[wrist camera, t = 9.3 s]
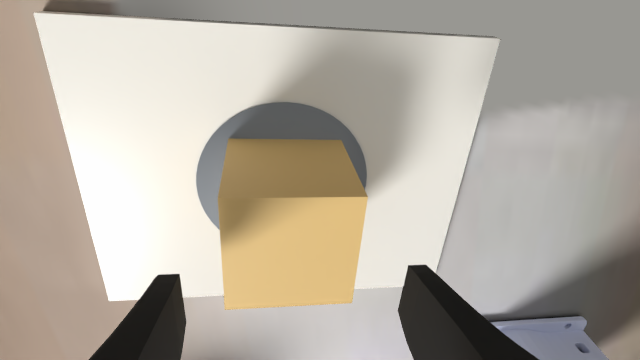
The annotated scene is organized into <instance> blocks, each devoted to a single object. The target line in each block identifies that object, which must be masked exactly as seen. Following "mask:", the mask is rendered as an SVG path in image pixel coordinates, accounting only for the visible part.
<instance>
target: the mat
mask: <svg viewBox="0 0 640 360" xmlns="http://www.w3.org/2000/svg"><path fill="white" fill-rule="evenodd" d="M34 17H35V21H36V24H37V28H38V32H39V36H40V40H41V43H42V47H43V51H44V55H45V59H46V63H47V66H48V70H49V74H50V78H51V82H52V85H53V89H54V93H55V97H56V101H57V104H58V108H59V112H60V116H61V120H62V124H63V127H64V131H65V135H66V139H67V143H68V146H69V150H70V154H71V158H72V162H73V165H74V169H75V173H76V177H77V181H78V185H79V188H80V192H81V196H82V200H83V204H84V207H85V211H86V215H87V219H88V223H89V226H90V230H91V234H92V238H93V242H94V246H95V249H96V253H97V257H98V261H99V265H100V268H101V272H102V276H103V280H104V284H105V287H106V291H107V295H108V299H109V301H121V300H139V299H140V298H141V296H142V295H143V294H144V292H145V291H146V290H147V288H148V287H149V285H150V284H151V283H152V281H153V280H154V278H155V277H156V276H157V275H162V274H180V280H181V288H182V295H183V297H203V296H223V295H224V290H223V274H222V259H221V243H220V228H219V212H218V193H219V188H220V182H221V177H222V171H223V166H224V160H225V155H226V149H227V143H228V139H305V140H341V141H342V143H343V145H344V147H345V149H346V151H347V153H348V156H349V158H350V160H351V162H352V164H353V166H354V168H355V170H356V173H357V175H358V177H359V179H360V181H361V183H362V185H363V187H364V190H365V192H366V194H367V196H368V200H367V207H366V213H365V220H364V226H363V233H362V240H361V246H360V253H359V259H358V266H357V273H356V279H355V286H354V289H366V288H386V287H403V286H404V282H405V277H406V273H407V269H408V265H427V266H428V267H429V268H430V269H431V270H433V271H434V272H435V273H436V270H437V266H438V263H439V259H440V255H441V252H442V248H443V245H444V241H445V237H446V234H447V230H448V227H449V223H450V220H451V216H452V212H453V209H454V205H455V202H456V198H457V194H458V191H459V187H460V184H461V180H462V176H463V173H464V169H465V166H466V162H467V158H468V155H469V151H470V148H471V144H472V140H473V137H474V133H475V130H476V126H477V122H478V119H479V115H480V112H481V108H482V104H483V101H484V97H485V93H486V90H487V86H488V83H489V79H490V76H491V72H492V68H493V65H494V61H495V58H496V54H497V50H498V47H499V43H500V40H501V39H500V38H497V37H493V36H475V35H457V34H440V33H421V32H404V31H387V30H386V31H385V30H368V29H350V28H333V27H316V26H298V25H280V24H263V23H244V22H227V21H210V20H192V19H174V18H156V17H138V16H137V17H136V16H121V15H103V14H86V13H68V12H50V11H39V12H35V13H34Z"/></svg>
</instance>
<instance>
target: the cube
mask: <svg viewBox="0 0 640 360" xmlns="http://www.w3.org/2000/svg"><path fill="white" fill-rule="evenodd" d="M367 200H368V196H367V194H366V192H365V190H364V187H363V185H362V183H361V181H360V179H359V177H358V175H357V173H356V170H355V168H354V166H353V164H352V162H351V160H350V158H349V156H348V153H347V151H346V149H345V147H344V145H343V143H342V141H341V140H305V139H228V143H227V149H226V155H225V160H224V166H223V171H222V177H221V182H220V188H219V193H218V212H219V228H220V243H221V259H222V274H223V290H224V305H225V310H230V309H249V308H267V307H286V306H305V305H323V304H342V303H352V299H353V292H354V286H355V279H356V273H357V266H358V259H359V253H360V246H361V240H362V233H363V226H364V220H365V213H366V207H367Z"/></svg>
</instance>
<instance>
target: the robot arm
mask: <svg viewBox="0 0 640 360" xmlns="http://www.w3.org/2000/svg"><path fill="white" fill-rule="evenodd" d="M398 312H399V316H400V320H401V324H402V328H403V331H404V334H405V338H406V341H407V344H408V346H409V349H410V351H411V354H412V356H413V359H414V360H609V359H608V358H607V357H606V356H605V355H604V353H603V352H602V351H601V350H600V349H599V348H598V347H597V346H596V344H595V343H594V342H593V341H592V340H591V339H590V338H589V337H588V335H587V334H586V333H585V332H584V331H583V330H584V328H585V327H586V325H587V321H586V320H585V319H584V317H581V316H576V317H561V318H546V319H531V320H515V321H500V322H489V321H488V320H487V319H485V318H484V317H483V316H482V315H481V314H480V313H478V312H477V311H476V310H475V309H474V308H473V307H472V306H470V305H469V304H468V303H467V302H466V301H465V300H464V299H463V298H462V297H460V296H459V295H458V294H457V293H456V292H455V291H454V290H453V289H452V288H451V287H450V286H449V285H447V284H446V283H445V282H444V281H443V280H442V279H441V278H440V277H439V276H438V275H437V274H436V273H435V272H434V271H433V270H431V269H430V268H429V267H428V266H427V265H408V269H407V273H406V277H405V282H404V286H403V290H402V295H401V299H400V304H399V308H398ZM185 327H186V317H185V310H184V303H183V295H182V288H181V280H180V274H162V275H157V276H156V277H155V278H154V280H153V281H152V283H151V284H150V285H149V287H148V288H147V290H146V291H145V292H144V294H143V295H142V296H141V298H140V299H139V300H138V302H137V303H136V304H135V306H134V307H133V308H132V309H131V311H130V312H129V313H128V314H127V316H126V317H125V318H124V319H123V321H122V322H121V323H120V324H119V326H118V327H117V328H116V329H115V330H114V332H113V333H112V334H111V335H110V336H109V338H108V339H107V340H106V341H105V342H104V343H103V344H102V345H101V347H100V348H99V349H98V350H97V351H96V352H95V353H94V354H93V355H92V357H91V358H90V359H89V360H180V359H181V354H182V348H183V341H184V334H185Z"/></svg>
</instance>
